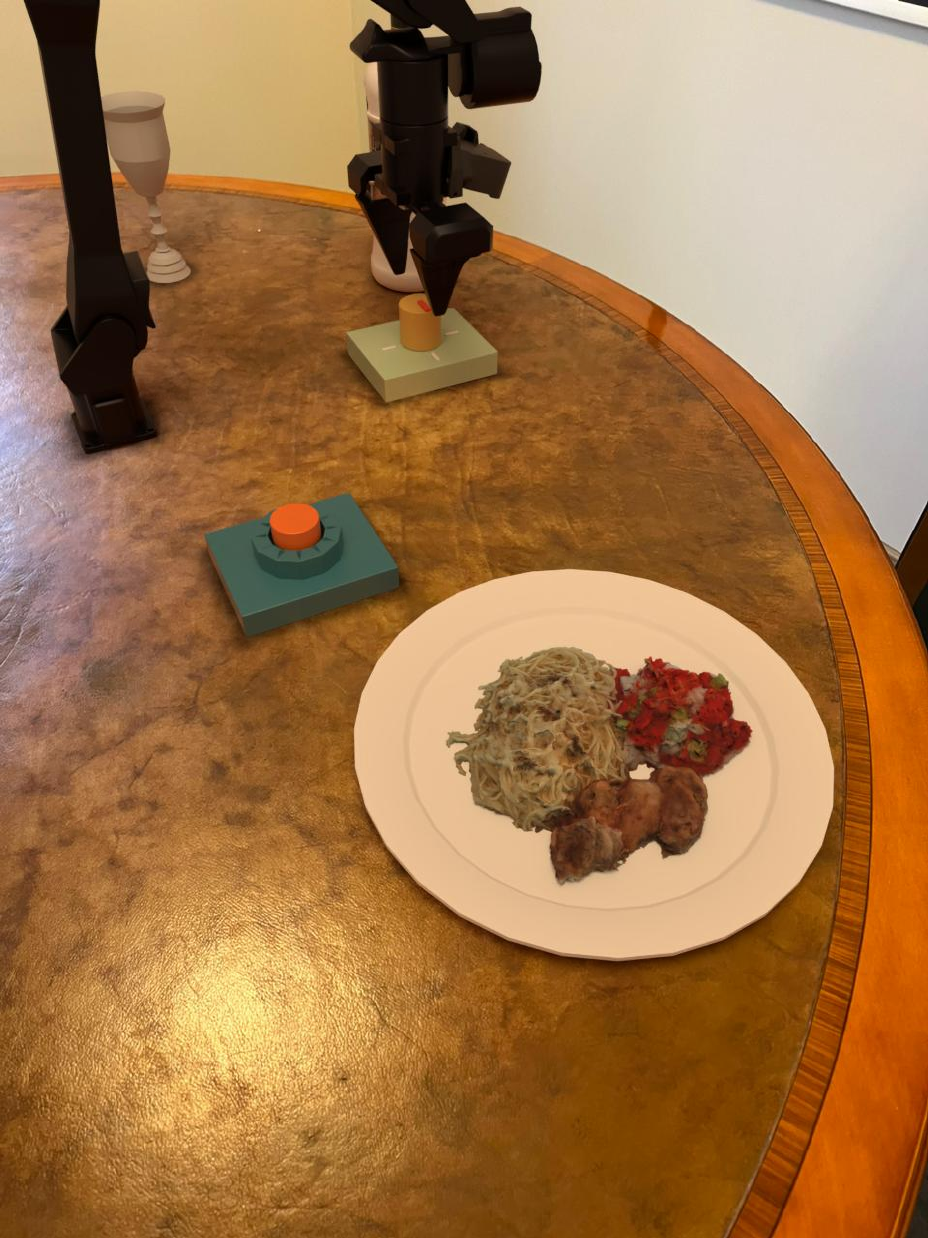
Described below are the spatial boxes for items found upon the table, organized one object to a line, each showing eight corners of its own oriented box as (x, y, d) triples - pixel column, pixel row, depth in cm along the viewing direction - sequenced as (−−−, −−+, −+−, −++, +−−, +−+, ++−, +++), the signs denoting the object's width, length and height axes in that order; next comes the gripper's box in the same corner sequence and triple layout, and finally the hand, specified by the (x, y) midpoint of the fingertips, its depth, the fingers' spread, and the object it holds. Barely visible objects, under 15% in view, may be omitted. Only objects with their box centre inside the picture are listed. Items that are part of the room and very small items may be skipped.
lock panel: (347, 354, 95) (345, 330, 93) (453, 329, 99) (453, 305, 97) (385, 403, 88) (384, 378, 87) (497, 374, 92) (498, 349, 90)
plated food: (260, 746, 60) (252, 713, 58) (561, 534, 75) (565, 501, 73) (629, 1098, 45) (638, 1074, 43) (912, 747, 60) (931, 715, 58)
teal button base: (209, 555, 73) (199, 515, 70) (351, 513, 77) (347, 473, 74) (246, 638, 67) (237, 598, 64) (399, 588, 71) (397, 548, 68)
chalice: (124, 281, 106) (78, 108, 93) (155, 256, 110) (115, 88, 97) (182, 290, 104) (143, 115, 91) (210, 264, 109) (178, 95, 96)
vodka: (435, 301, 103) (429, -23, 81) (358, 287, 105) (334, -32, 84) (463, 266, 109) (465, -44, 88) (391, 253, 111) (375, -51, 90)
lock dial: (394, 336, 92) (392, 295, 89) (430, 327, 94) (429, 286, 90) (410, 354, 90) (408, 313, 87) (447, 345, 91) (447, 304, 88)
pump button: (266, 528, 70) (263, 510, 69) (311, 515, 71) (309, 497, 70) (281, 557, 68) (278, 539, 66) (328, 543, 69) (326, 525, 68)
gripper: (554, 136, 74) (541, 319, 85) (452, 71, 85) (452, 240, 97) (427, 157, 70) (430, 346, 81) (338, 87, 82) (352, 260, 93)
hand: (418, 293), depth 88 cm, fingers open, 9 cm apart
